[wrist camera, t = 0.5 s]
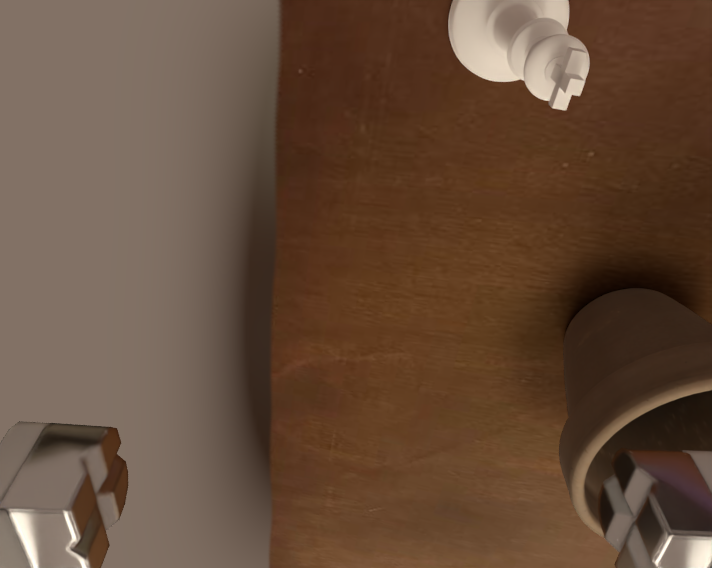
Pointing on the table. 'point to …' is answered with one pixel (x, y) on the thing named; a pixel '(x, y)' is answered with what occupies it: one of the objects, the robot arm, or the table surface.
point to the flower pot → (632, 387)
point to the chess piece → (521, 45)
